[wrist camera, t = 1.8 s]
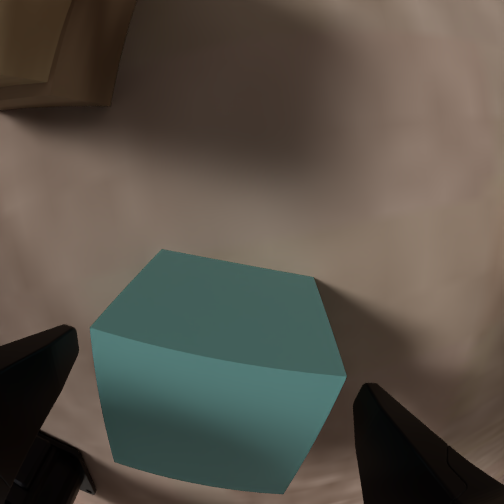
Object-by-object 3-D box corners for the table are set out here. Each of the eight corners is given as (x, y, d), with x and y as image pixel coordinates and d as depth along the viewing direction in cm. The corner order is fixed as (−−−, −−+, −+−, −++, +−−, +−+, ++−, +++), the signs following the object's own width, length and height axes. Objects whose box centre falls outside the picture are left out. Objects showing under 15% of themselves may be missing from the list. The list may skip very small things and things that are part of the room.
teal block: (279, 388, 12) (283, 494, 7) (156, 365, 12) (114, 461, 7) (313, 276, 10) (346, 376, 5) (162, 248, 10) (89, 327, 5)
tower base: (113, 107, 9) (50, 95, 5) (-1, 111, 9) (-62, 112, 5) (154, -40, 7) (118, -90, 4) (33, -14, 7) (-15, -37, 3)
